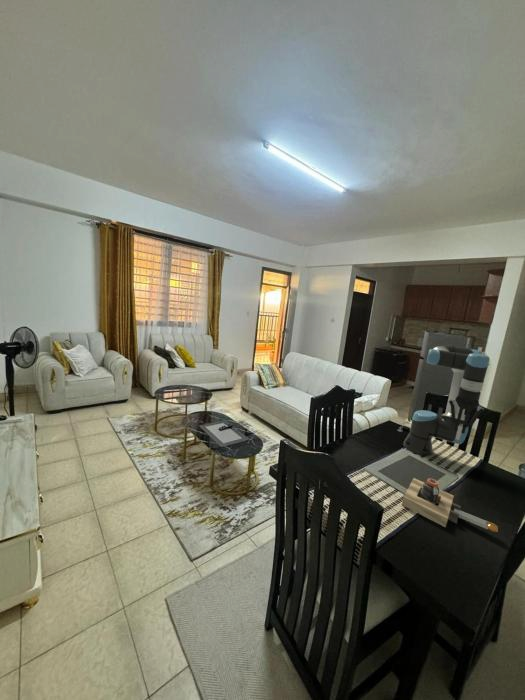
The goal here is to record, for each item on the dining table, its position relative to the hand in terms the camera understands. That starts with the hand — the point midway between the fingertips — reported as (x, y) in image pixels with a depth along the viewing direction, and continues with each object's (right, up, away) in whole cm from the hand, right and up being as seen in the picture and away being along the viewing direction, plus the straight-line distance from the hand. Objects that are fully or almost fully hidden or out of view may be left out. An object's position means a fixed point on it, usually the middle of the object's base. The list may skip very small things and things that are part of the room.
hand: (457, 438), depth 126 cm
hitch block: (-16, -27, -7) cm, 32 cm away
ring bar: (-10, -26, -12) cm, 30 cm away
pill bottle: (-17, -27, -6) cm, 32 cm away
